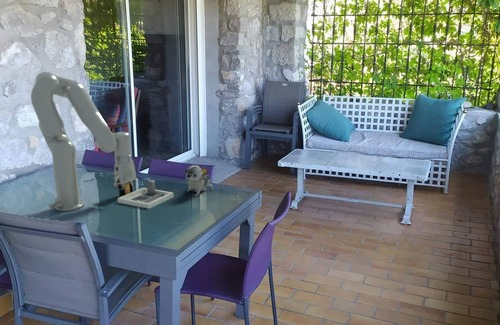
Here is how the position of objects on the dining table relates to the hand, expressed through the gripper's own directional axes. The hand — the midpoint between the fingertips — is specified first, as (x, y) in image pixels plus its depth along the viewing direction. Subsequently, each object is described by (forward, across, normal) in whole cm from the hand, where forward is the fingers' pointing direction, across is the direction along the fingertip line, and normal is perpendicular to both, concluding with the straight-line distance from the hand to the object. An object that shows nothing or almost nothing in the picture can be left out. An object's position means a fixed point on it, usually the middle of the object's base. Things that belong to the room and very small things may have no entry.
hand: (126, 195), depth 233 cm
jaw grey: (0, +3, -13) cm, 13 cm away
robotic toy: (+1, +20, -28) cm, 34 cm away
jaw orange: (+1, 0, 0) cm, 1 cm away
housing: (+1, -1, -13) cm, 13 cm away
